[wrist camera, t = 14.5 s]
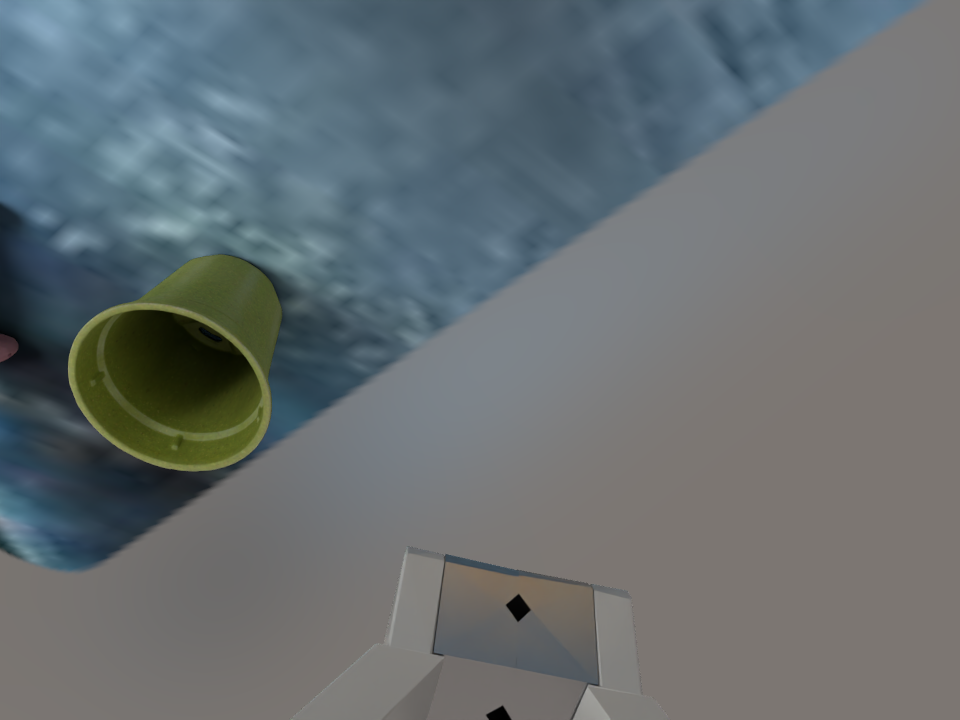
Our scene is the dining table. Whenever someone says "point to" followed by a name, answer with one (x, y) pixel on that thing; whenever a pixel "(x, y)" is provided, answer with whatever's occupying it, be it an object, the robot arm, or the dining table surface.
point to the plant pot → (183, 366)
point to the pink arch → (7, 347)
